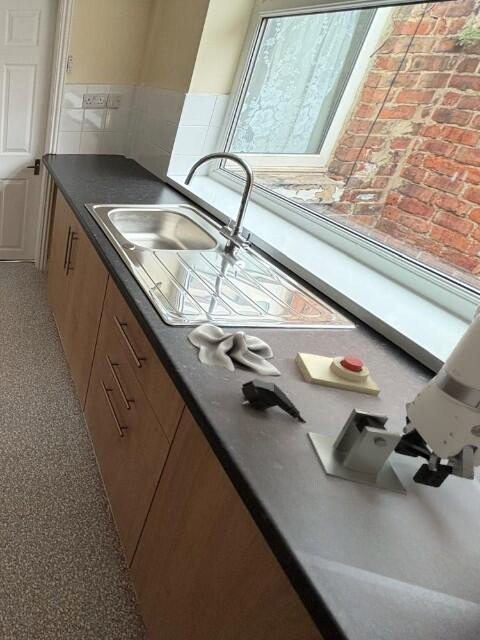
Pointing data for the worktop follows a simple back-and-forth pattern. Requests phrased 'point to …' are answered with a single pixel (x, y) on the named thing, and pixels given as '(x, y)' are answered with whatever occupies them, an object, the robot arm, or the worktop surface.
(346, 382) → the control block
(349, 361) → the button
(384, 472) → the lever mounting bracket
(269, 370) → the cloth
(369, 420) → the switch lever
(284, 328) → the worktop surface
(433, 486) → the robot arm
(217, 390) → the worktop surface
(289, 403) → the power plug
